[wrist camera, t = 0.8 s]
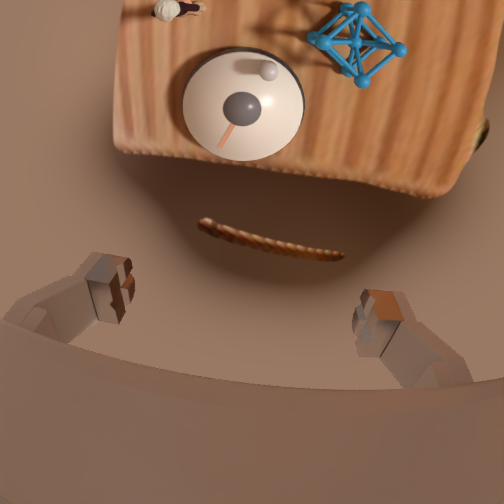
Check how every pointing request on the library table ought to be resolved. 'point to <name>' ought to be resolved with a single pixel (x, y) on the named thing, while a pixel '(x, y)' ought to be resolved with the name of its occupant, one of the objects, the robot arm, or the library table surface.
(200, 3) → the grandmother figurine
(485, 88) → the library table surface
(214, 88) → the turntable
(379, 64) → the molecular structure
